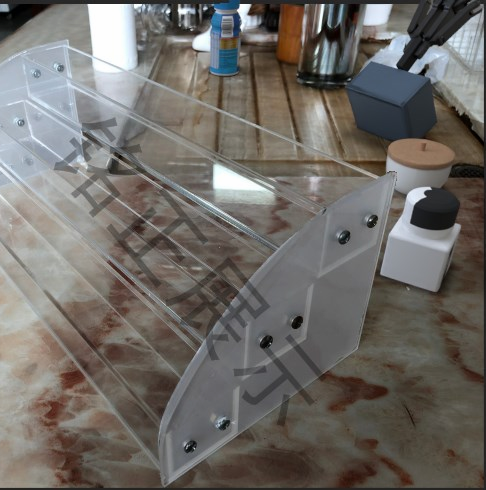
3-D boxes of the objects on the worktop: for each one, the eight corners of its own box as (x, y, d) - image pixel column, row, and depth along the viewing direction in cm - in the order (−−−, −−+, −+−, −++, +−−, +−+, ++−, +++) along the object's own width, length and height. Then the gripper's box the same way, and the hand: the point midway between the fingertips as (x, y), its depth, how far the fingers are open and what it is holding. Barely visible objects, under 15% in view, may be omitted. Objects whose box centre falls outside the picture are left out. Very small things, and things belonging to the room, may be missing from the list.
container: (448, 269, 86) (472, 189, 79) (435, 298, 80) (459, 215, 73) (394, 253, 89) (412, 176, 82) (378, 279, 84) (395, 199, 77)
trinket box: (446, 183, 108) (459, 134, 102) (442, 210, 99) (456, 159, 94) (384, 173, 111) (394, 125, 106) (376, 198, 103) (386, 149, 98)
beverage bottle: (203, 73, 164) (204, -4, 153) (220, 65, 169) (223, -10, 158) (228, 79, 159) (231, -1, 148) (245, 71, 164) (250, -6, 153)
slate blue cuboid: (411, 149, 120) (402, 106, 111) (357, 127, 130) (345, 86, 121) (437, 122, 121) (430, 78, 112) (381, 103, 131) (371, 60, 122)
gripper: (510, -13, 114) (434, 89, 116) (449, -23, 123) (380, 72, 125) (502, -41, 109) (423, 66, 110) (440, -49, 118) (368, 50, 120)
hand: (400, 69), depth 118 cm, fingers closed
